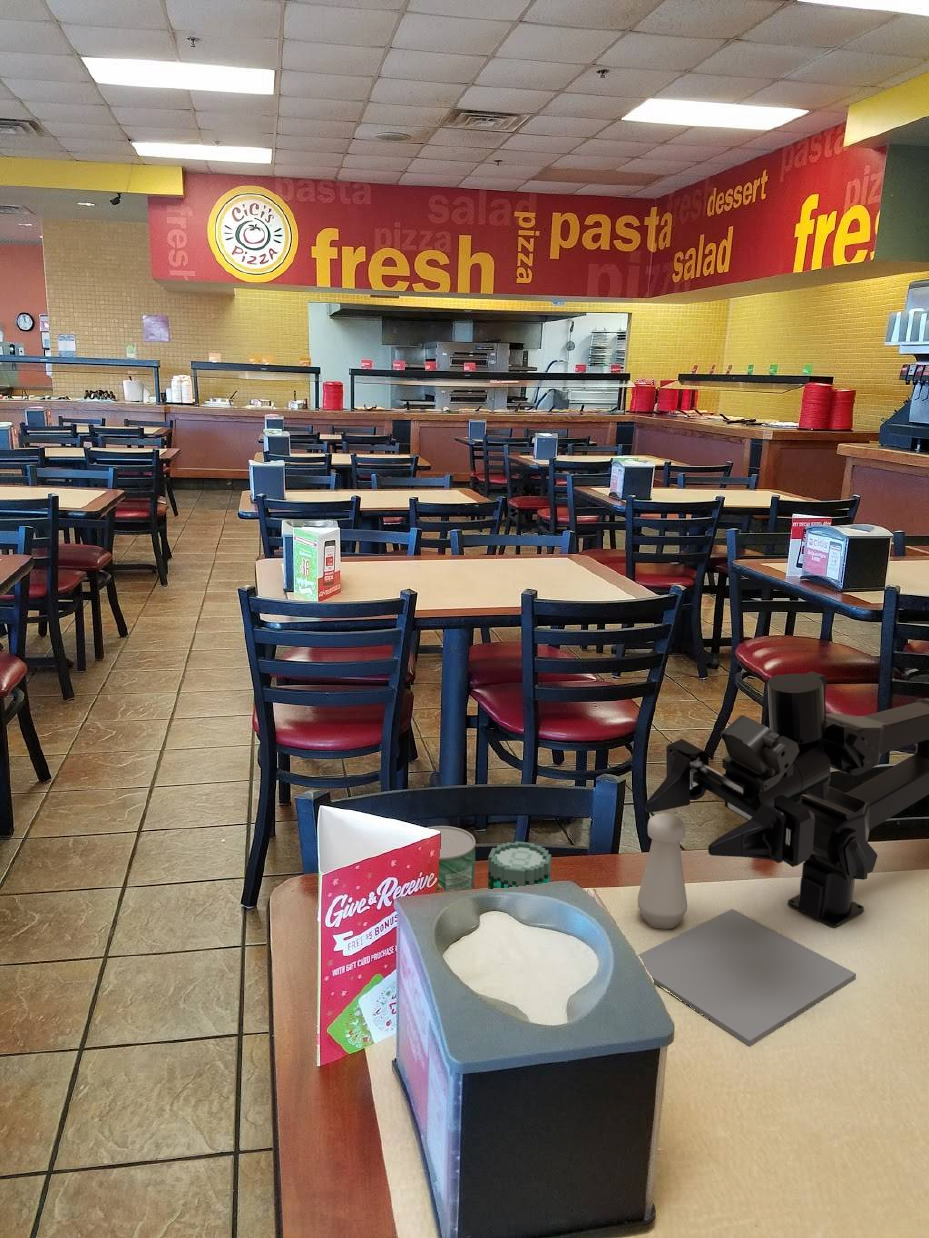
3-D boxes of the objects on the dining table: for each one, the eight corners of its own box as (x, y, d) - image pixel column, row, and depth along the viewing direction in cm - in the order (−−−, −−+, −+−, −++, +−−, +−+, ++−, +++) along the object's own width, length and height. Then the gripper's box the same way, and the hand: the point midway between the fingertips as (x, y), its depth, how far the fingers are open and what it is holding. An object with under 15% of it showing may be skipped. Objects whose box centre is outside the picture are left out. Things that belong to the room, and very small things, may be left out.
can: (483, 1000, 93) (484, 866, 90) (495, 966, 99) (496, 839, 95) (542, 1009, 91) (545, 873, 88) (550, 974, 97) (554, 845, 94)
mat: (732, 913, 109) (732, 908, 109) (855, 978, 97) (856, 973, 96) (626, 965, 99) (626, 960, 99) (749, 1046, 86) (749, 1040, 86)
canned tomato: (486, 919, 108) (487, 833, 105) (457, 953, 101) (457, 863, 99) (427, 903, 111) (427, 820, 109) (395, 936, 104) (393, 848, 102)
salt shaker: (687, 936, 104) (693, 831, 101) (636, 930, 105) (641, 827, 103) (685, 909, 110) (691, 809, 107) (637, 904, 111) (641, 805, 108)
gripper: (719, 680, 105) (615, 726, 98) (859, 745, 90) (748, 804, 83) (717, 762, 110) (618, 811, 103) (851, 837, 95) (745, 900, 88)
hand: (676, 828), depth 94 cm, fingers open, 9 cm apart
